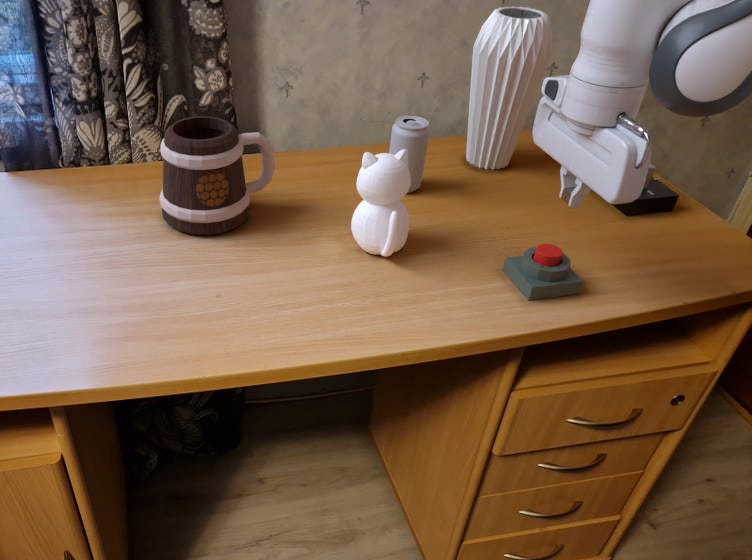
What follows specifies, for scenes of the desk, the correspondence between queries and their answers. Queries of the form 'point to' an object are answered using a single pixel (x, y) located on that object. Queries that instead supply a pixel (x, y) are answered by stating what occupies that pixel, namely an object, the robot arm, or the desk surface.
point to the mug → (208, 175)
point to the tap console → (651, 200)
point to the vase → (505, 81)
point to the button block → (541, 276)
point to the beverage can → (411, 145)
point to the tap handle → (649, 176)
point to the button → (548, 255)
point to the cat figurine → (382, 203)
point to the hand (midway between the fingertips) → (569, 202)
